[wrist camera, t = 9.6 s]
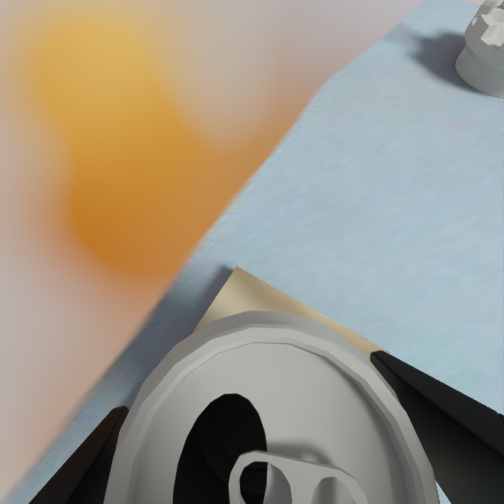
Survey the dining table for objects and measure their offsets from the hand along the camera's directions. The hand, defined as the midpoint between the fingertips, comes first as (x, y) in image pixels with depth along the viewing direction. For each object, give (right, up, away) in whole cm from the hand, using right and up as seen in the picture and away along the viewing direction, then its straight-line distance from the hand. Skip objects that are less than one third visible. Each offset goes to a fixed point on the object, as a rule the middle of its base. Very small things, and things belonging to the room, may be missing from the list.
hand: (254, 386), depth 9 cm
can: (0, -5, +6) cm, 8 cm away
